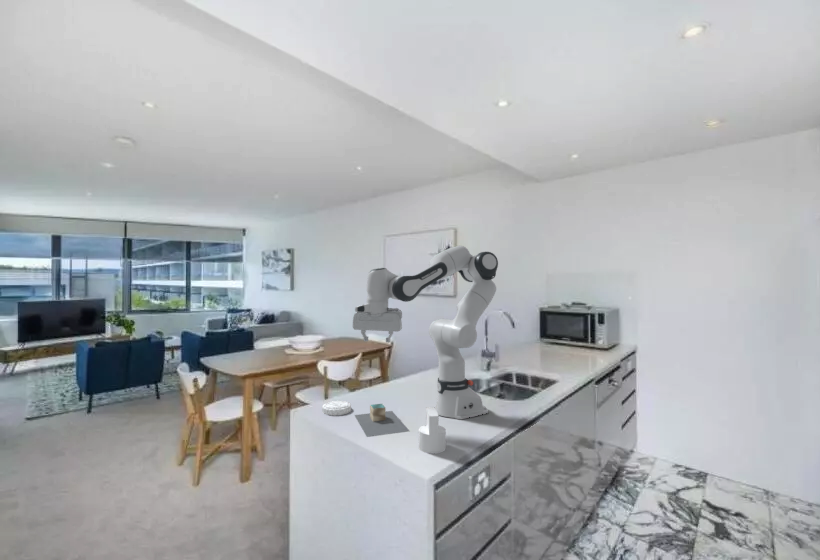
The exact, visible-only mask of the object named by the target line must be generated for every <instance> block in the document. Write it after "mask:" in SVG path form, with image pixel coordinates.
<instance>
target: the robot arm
mask: <svg viewBox="0 0 820 560" xmlns="http://www.w3.org/2000/svg"><path fill="white" fill-rule="evenodd" d="M498 260H499V259H498V258H497V256H496V255H495V253H493V252H491V251H481V252H479V253H477V254H475V255H473V254H471V253H470V251H469V249H468V248H467V247H466V246H464V245H457V246H451V247H450V248H449V247H448V248H447V249H445V250H442V251H440V252H438V253H437V254H435V255H433V256H432V257H431V258H430V259H429V264H428V267H427V268H426V269H424V270H422V271H420V272H418V273H417V274H414V275H403V276H399V275H397V274H395V273H393V272H392V271H390V270H388V269H387V268H386V267H380V268H379V267H378V268H374V269H371V270H370V271H369V272H368V274H367V279H366V292H367V297H366V303H363V304H361V305H358V306H355V308H354V311H355V313H354V314H353V318H352V329H353V330H355V331H360V333H361V335H362V337H363V342H368V341H369V336H367V334H366V333H367V331H376V332H388V337H386V338H385V342H386V343H391V339H392V337H393V334H394V332H396V333H397V332H400V331H402V328H403V325H402V323H403V321H402V318H403V312H402V310H401V309H399V308H397V307H396V308H392V307H389V299H390V298H391V299H393V300H397V301H401V302H405V303H406V302H408V303H409V302H411V301H413V300H415V298H417V297H418V295H419V294H420V293H421V291H422V290H425V288H427V287H428V286H430V285H432V284H434V283H436V282H437V281H439V280H442V279H445V278H447V277H450V276H452V275H454V274H456V273H457V272H458V273H459V274H460V275H461V277H462V278H463V280H464V281H466V282H468V283H471V285H470V287H469V288H468V290H467V291H466V293H465V294H464V295H463V297H462V298H461V299H460V300H459V302H458V303H457V304H456V311H457V312H456V315H455V316H454V318H453V319H448V318H440V319H435V320H434V321H432V322H431V323H430V325H429V327H428V334H429V337H430V338H431V340H432V341H433V343H434V348H435V350H436V354H437V355H436V356H437V359H438V378H437V398H436V399H437V400H436V404H435V405H436V406H435V408H436V411H437V413H438V416H441V417H445V418H450V419H451V418H452V419H456V420H466V419H469V417H470V418H473V417H478V415H479V416H482V414H483V415H487V414H488V413H489V410H488V407H486V406H484V404H483V401H482V397H481V395H480V394H478V393H477V392H476V391H475V390H473V389H472V388H471V387H469V386H473V385H474V381H473V380H472V379H468V378H466V361H465V358H464V357H463V354H462V353H461V351H460V349H468V348H471V347H473V346H474V345H475V343H476V342H477V339H478V331H477V329H476V328H477V327H476V326H477V323H478V321H479V320H480V318H481V316H482V315H483V314H484V312H485V311H486V309H487V308H488V306H489V305H490V304H491V302H492V300H493V298H494V296H495V294H496V292H497V286H496V283H495V282H494V281H493V279H495V277H496V276H497V275H496V273H497V270H498V267H499V261H498ZM486 413H487V414H486Z"/></svg>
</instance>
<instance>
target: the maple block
mask: <svg viewBox="0 0 820 560" xmlns="http://www.w3.org/2000/svg"><path fill="white" fill-rule="evenodd" d="M385 412H386V406H385V404H383V403H375V404H369V413H370V418H371V419H372V421H373V422H374V421H382V420H385Z"/></svg>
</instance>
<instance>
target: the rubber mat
mask: <svg viewBox="0 0 820 560" xmlns="http://www.w3.org/2000/svg"><path fill="white" fill-rule="evenodd" d="M354 417H355V419H356V420H357V422H358V424H359V426H360V427H361V429H362V430H363V433H364V435H365V437H367V438H368V437H369V438H370V437H377V436H383V435H391V434H399V433H406V432H410V429H408V427H407V426H406V425H405V424H404V423H403V422H402V421H401V419H400V418H399V417H398V416H397V414H395V412H393V410H387V411H386V410H385V420H382V421H374V422H373V421H372V419H371V418H370V412H369V413H362V414H354Z"/></svg>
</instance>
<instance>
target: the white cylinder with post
mask: <svg viewBox="0 0 820 560" xmlns="http://www.w3.org/2000/svg"><path fill="white" fill-rule="evenodd" d="M425 408H426V410H425V413H426V417H425V420H426V421H425V424H424V425H421V426H420V427H419V428H418V449H419V450H420V451H421V452H422V453H427V454H433V455H435V454H440V453H442V452H444V451H446V448H447V447H446V446H447V445H446V444H447V443H446V440H447V439H446V436H447V435H446V433H447V431H446V428H445V426H442V425H440V424H439V423H440V422H439V418H440V417H439V416H440V415H438V413H437V411H436V406H435V407H434V406H427V407H425ZM434 453H435V454H434Z"/></svg>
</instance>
